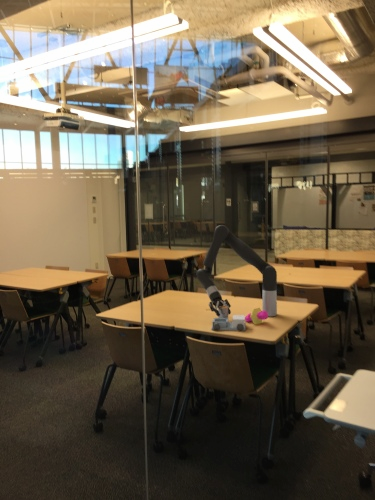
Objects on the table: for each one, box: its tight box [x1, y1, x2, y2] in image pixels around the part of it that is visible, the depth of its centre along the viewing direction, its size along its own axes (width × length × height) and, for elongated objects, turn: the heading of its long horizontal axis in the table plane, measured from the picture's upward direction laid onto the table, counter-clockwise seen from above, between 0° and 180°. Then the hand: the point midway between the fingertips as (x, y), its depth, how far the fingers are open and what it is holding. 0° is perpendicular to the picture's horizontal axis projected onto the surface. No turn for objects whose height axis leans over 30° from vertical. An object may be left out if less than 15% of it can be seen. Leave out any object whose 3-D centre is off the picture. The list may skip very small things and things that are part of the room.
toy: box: [245, 307, 269, 325], centre depth 257 cm, size 10×18×10 cm, turn 38°
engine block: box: [217, 305, 229, 319], centre depth 262 cm, size 4×4×10 cm
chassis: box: [211, 314, 246, 332], centre depth 248 cm, size 20×14×6 cm
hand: (224, 314), depth 261 cm, fingers open, 8 cm apart
